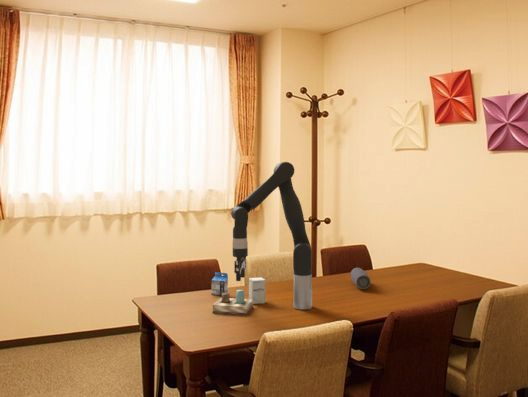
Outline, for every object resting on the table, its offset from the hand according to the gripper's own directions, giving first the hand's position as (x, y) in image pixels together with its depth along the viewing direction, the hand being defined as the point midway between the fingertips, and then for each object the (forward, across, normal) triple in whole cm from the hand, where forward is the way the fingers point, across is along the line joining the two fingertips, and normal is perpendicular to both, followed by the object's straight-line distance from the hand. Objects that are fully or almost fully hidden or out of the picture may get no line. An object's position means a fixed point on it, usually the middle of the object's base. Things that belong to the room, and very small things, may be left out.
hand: (240, 279), depth 255 cm
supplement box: (+16, +17, -4) cm, 24 cm away
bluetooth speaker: (+17, +64, -58) cm, 88 cm away
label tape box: (+16, +28, +20) cm, 38 cm away
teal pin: (+15, 0, 0) cm, 15 cm away
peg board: (+16, 0, +4) cm, 16 cm away
